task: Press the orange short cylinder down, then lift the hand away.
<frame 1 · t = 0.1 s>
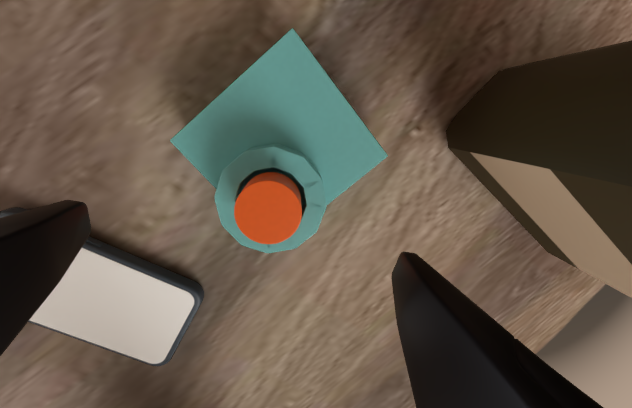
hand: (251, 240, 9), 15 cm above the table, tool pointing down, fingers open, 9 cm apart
orange short cylinder: (270, 206, 18), point 7 cm above the table, slide at 0.1 cm
phone case: (100, 286, 26), on the table
bottle: (529, 163, 25), on the table
cap block: (284, 143, 23), on the table
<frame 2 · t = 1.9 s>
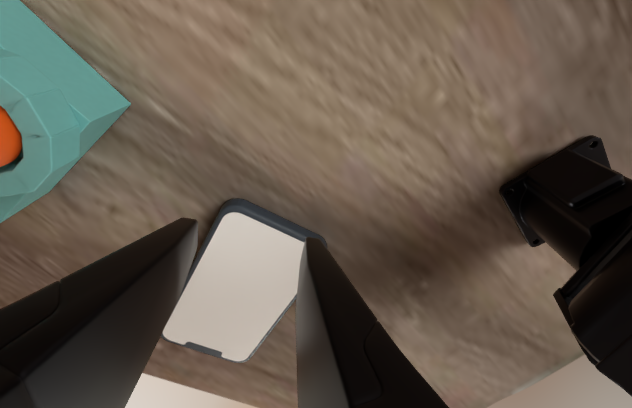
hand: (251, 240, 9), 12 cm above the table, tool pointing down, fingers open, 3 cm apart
phone case: (240, 283, 26), on the table
cap block: (8, 87, 18), on the table
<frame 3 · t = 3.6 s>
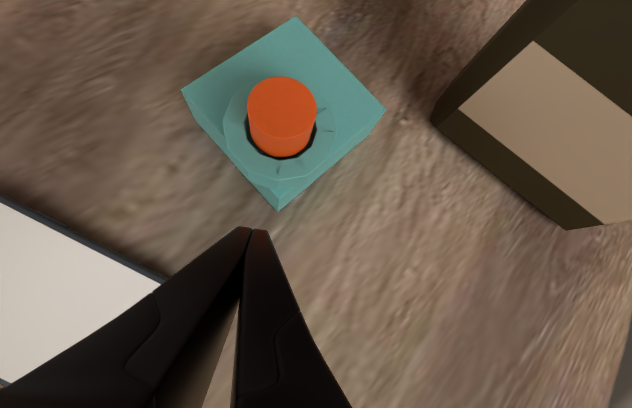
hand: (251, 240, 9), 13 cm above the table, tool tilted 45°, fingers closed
orange short cylinder: (281, 118, 17), point 7 cm above the table, slide at 0.1 cm
phone case: (43, 295, 19), on the table
bottle: (511, 150, 27), on the table
cap block: (285, 127, 24), on the table
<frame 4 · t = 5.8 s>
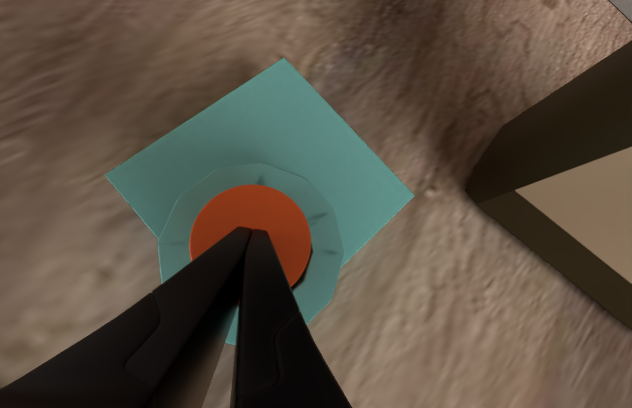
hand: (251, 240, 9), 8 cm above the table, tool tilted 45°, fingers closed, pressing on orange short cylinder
orange short cylinder: (253, 245, 10), point 7 cm above the table, slide at -0.1 cm, touching gripper
bottle: (571, 228, 21), on the table
cap block: (269, 206, 18), on the table
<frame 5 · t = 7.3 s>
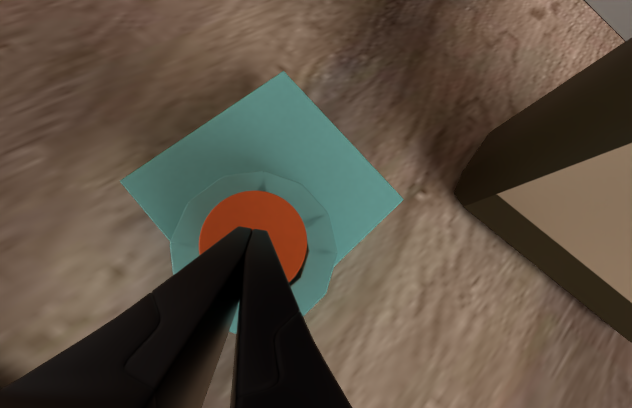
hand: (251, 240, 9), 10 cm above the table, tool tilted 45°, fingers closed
orange short cylinder: (255, 245, 12), point 7 cm above the table, slide at 0.1 cm
bottle: (554, 229, 22), on the table
cap block: (270, 209, 19), on the table
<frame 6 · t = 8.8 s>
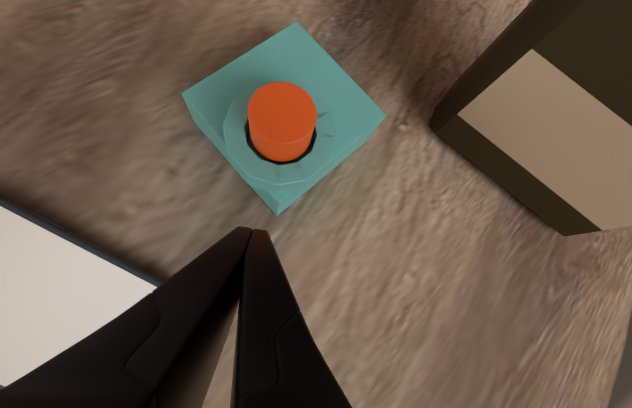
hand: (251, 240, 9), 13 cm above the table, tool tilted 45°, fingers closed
orange short cylinder: (281, 123, 17), point 7 cm above the table, slide at 0.1 cm
phone case: (40, 298, 19), on the table
bottle: (509, 156, 27), on the table
cap block: (285, 131, 24), on the table
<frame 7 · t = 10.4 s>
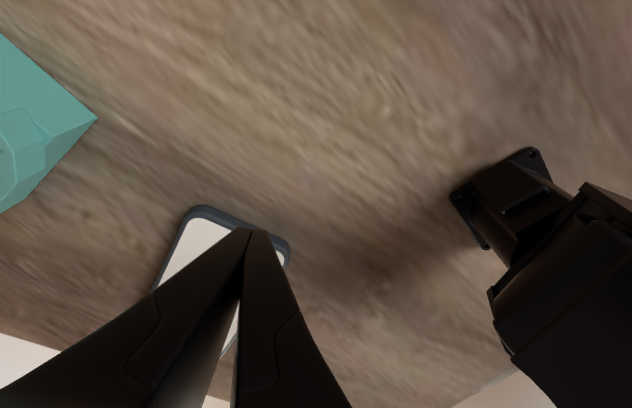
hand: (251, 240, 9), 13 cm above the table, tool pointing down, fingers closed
phone case: (211, 284, 28), on the table
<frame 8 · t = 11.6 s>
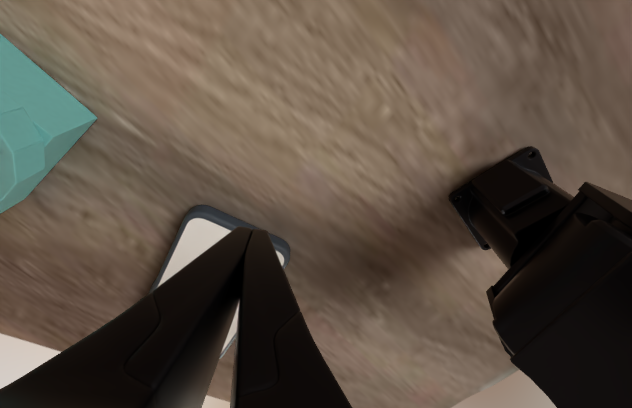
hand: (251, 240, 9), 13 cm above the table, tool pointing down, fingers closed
phone case: (211, 284, 28), on the table
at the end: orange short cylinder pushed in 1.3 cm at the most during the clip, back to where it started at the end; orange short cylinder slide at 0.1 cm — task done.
